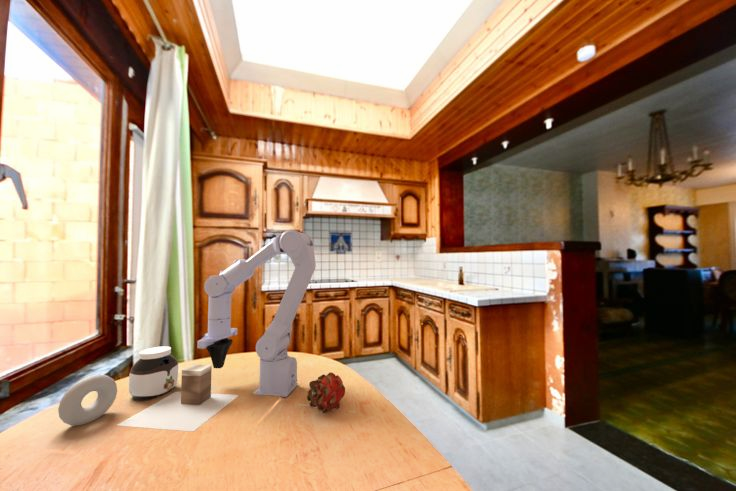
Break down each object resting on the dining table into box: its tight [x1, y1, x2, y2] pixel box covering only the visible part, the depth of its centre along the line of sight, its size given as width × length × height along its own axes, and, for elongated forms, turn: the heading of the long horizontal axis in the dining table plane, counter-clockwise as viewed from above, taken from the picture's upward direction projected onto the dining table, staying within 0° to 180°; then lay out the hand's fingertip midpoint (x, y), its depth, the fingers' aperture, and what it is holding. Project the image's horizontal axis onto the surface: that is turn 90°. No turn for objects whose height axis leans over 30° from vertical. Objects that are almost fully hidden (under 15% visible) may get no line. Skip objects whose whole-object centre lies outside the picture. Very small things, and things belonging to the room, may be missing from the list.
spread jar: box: [128, 345, 179, 401], centre depth 77 cm, size 12×11×12 cm
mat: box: [115, 391, 240, 433], centre depth 67 cm, size 18×16×1 cm
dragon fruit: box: [306, 372, 346, 413], centre depth 69 cm, size 8×8×12 cm
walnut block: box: [180, 364, 213, 405], centre depth 71 cm, size 5×4×8 cm
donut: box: [57, 374, 118, 427], centre depth 63 cm, size 10×4×10 cm, turn 161°
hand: (218, 367), depth 80 cm, fingers closed
